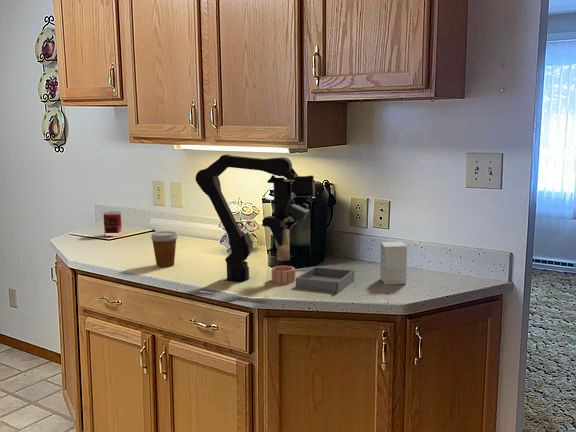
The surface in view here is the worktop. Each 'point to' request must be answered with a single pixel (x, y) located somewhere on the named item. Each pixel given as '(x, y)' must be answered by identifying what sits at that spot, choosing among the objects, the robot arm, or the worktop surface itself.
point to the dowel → (284, 247)
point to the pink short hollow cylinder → (283, 274)
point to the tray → (325, 279)
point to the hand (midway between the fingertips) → (283, 244)
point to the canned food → (112, 222)
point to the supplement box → (393, 263)
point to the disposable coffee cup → (164, 248)
